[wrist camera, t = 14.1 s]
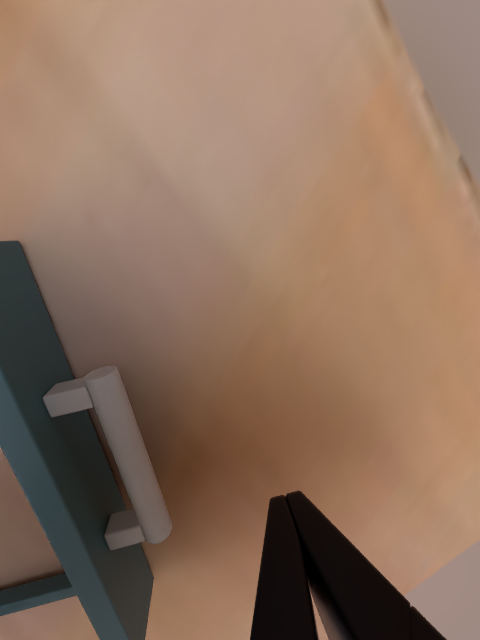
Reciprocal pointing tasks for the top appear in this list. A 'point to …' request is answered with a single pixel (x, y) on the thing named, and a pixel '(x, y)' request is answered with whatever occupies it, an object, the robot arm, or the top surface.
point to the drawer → (75, 466)
